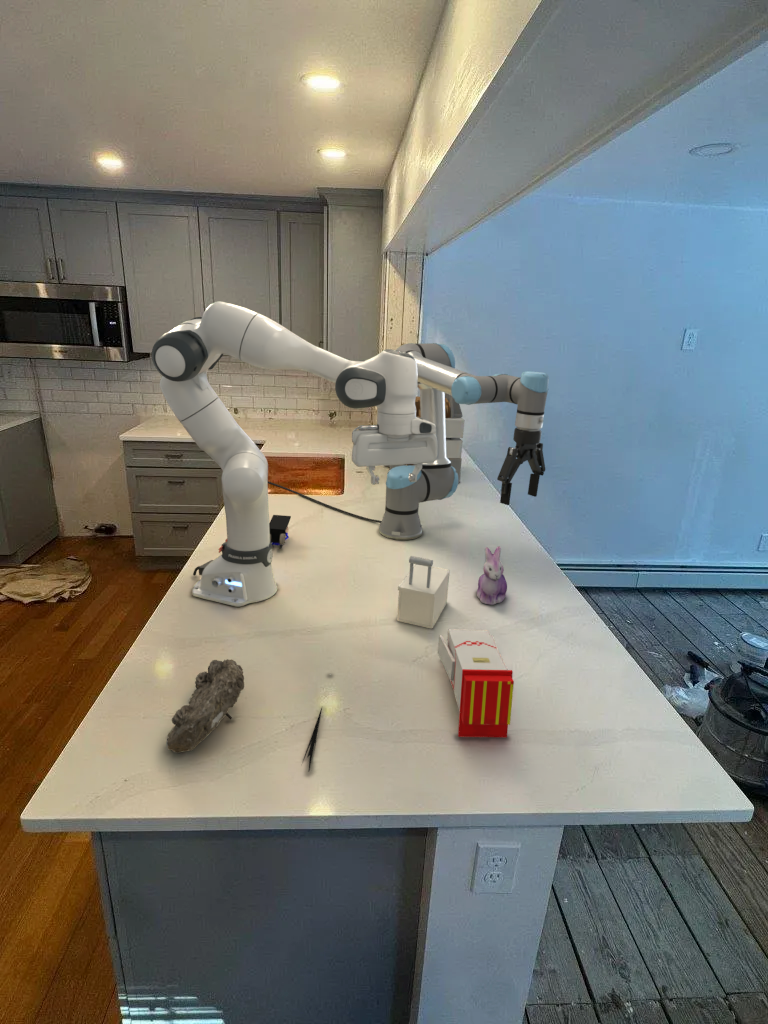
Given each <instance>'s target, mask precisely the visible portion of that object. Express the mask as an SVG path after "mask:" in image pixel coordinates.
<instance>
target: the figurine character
mask: <svg viewBox="0 0 768 1024" xmlns="http://www.w3.org/2000/svg"><path fill="white" fill-rule="evenodd" d="M291 517H292V516H291V515H284V514H283V515H282V514H273V515H272V517H271V519H270V520H269V529H270V541H271V544H272V549H273V548H274V546H279V547H278V550H281V549H283V548H282V547H283V546H284V545H285V544H286V541H287V540H288V539H289V538H290V536H289V523H290V521H291Z"/></svg>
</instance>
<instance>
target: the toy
mask: <svg viewBox="0 0 768 1024" xmlns="http://www.w3.org/2000/svg"><path fill="white" fill-rule="evenodd" d="M446 640H447V643H446V641H445V639H444V636H443V635H442V634H439V637H438V646H437V656H438V657H439V659H440V661H441V663H442V666H443V668H444V670H445V672H446V674H447V677H448V679H449V681H450V684H451V687H452V690H453V693H454V697H455V701H456V705H457V708H458V711H459V714H458V715H459V716H458V730H457V731H458V732H457V737H458V738H508V731H509V726H510V725H511V717H512V707H513V697H514V696H513V695H514V684H515V680H514V679H513V673H514V671H513V670H512V669H508V667H507V665H506V662H505V661H504V659H503V658H502V655H501V653H500V651H499V649H498V647H497V643H496V639H495V637H494V635H493V634H491V632H490V631H489V629H467V628H466V629H465V628H463V629H461V628H460V629H459V628H448V630H447V639H446Z"/></svg>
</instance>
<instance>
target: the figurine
mask: <svg viewBox="0 0 768 1024" xmlns="http://www.w3.org/2000/svg"><path fill="white" fill-rule="evenodd" d="M501 547H502V546H500V545H498V546H497V547H496V548H495V550H494V552H493V553H492V551H491V549H490V548H489V547H487V546H486V547H485V548H484V553H485V555H484V556H485V562H484V564H483V566H482V567H483V568H482V570H483V573H482V574H481V575H480V576H479V577H478V579H477V580H478V581H477V591H476V596H477V598H478V599H479V600H480V602H481V603H482V604H485V605H496V604H500V603H502V602H503V601H504V600H505V598H506V595H507V591H508V582H507V580H506V577H505V575H504V574H503V573H504V571H505V570H504V566H503V563H502V561H501V552H502V548H501Z"/></svg>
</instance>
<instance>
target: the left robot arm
mask: <svg viewBox="0 0 768 1024" xmlns="http://www.w3.org/2000/svg"><path fill="white" fill-rule="evenodd" d="M224 355H226V356H229V357H232V358H234V359H236V360H239V361H241V362H242V363H245V364H247V365H250V366H253V367H255V368H259V369H264V370H267V371H285V370H286V371H287V370H297V371H303V372H307V373H310V374H311V375H314V376H316V377H319V378H322V379H324V380H326V381H329V382H331V383H333V384H334V387H335V388H334V389H335V390H334V391H335V395H336V397H337V398H338V400H339V401H340V403H341V404H343V406H344V407H347V408H350V409H354V410H362V409H366V408H372V407H376V408H377V409H376V424H367V425H365V424H360V425H358V426H357V427H355V428H354V429H353V430H352V432H351V442H352V449H351V462H352V463H353V464H354V465H355V466H356V467H358V468H365V467H366V470H367V472H368V474H369V476H370V484H371V485H379V484H380V476H378V474H376V475H375V473H374V471H375V470H376V467H382V466H383V467H386V466H385V465H403V464H414V466H415V468H414V470H413V472H412V473H409V481H410V482H416V481H417V475H418V474H419V472H420V470H421V469H422V463H434V462H435V461H436V459H437V456H438V444H437V438H436V436H435V435H434V434H433V433H434V432H435V430H436V426H435V424H433V423H432V422H430V421H427V420H425V419H422V418H420V417H416V406H415V398H416V397H417V394H418V389H419V388H418V370H417V363H416V360H415V359H414V357H413V356H411V355H410V354H408V353H406V352H402V351H398V350H396V349H391V348H385V349H383V350H382V351H381V352H379V353H378V354H376V355H374V356H372V357H370V358H367V359H350V358H346V357H343V356H341V355H339V354H336V353H334V352H331V351H329V350H327V349H325V348H322V347H320V346H317V345H315V344H313V343H311V342H308V341H307V340H306V339H304V338H302V337H300V336H299V335H298V334H296V333H294V332H293V331H291V330H290V329H288V328H287V327H285V326H283V325H282V324H281V323H279V322H277V321H275V320H273V319H271V318H269V317H268V316H265V315H264V314H262V313H259V312H257V311H254V310H251V309H249V308H247V307H244V306H241V305H238V304H234V303H230V302H226V301H215V302H212V303H211V304H209V305H208V306H207V307H206V308H205V310H204V312H203V313H202V316H197V317H193V318H191V319H190V320H186V321H183V322H180V323H179V324H177V325H176V326H174V327H172V329H171V330H169V331H168V332H165V333H164V334H162V335H160V337H159V338H158V339H157V340H156V341H155V343H154V344H153V346H152V349H151V360H152V364H153V365H154V368H155V369H156V371H157V372H158V373H159V374H160V375H161V378H160V380H159V388H160V391H161V393H162V395H163V397H164V399H165V401H166V403H167V404H168V406H169V408H170V409H171V412H173V414H174V416H175V417H176V419H177V420H178V421H179V423H180V424H181V426H183V428H184V429H185V430H186V432H187V433H188V435H189V436H190V438H191V439H192V440H193V441H194V443H195V444H196V446H197V447H198V449H200V450H201V451H203V452H204V453H206V454H207V456H209V457H210V458H211V459H212V460H213V461H214V462H215V463H216V464H217V465H218V467H219V468H220V469H221V471H222V473H221V479H220V480H221V488H222V489H221V490H222V499H223V506H224V507H223V508H224V513H225V523H226V539H225V542H223V543H222V544H221V546H220V547H219V548H218V553H219V554H220V553H221V554H220V555H219V556H217V557H216V558H214V559H210V560H209V561H207V562H204V563H203V564H201V565H198V566H197V567H195V568H194V570H193V574H192V575H193V577H194V576H195V577H196V576H197V572H198V575H199V576H200V579H199V580H198V581H197V582H196V583H195V584H194V585H193V587H192V596H193V597H195V598H201V599H204V600H208V601H213V602H217V603H220V604H224V605H227V606H231V607H236V608H239V607H243V606H247V605H248V604H253V603H258V602H262V601H265V600H267V599H270V598H272V597H273V596H274V595H275V594H276V593H277V591H278V586H277V583H276V580H275V577H274V572H273V566H272V562H273V548H272V543H271V541H270V529H269V523H270V508H269V507H270V506H269V484H268V481H269V463H268V459H267V458H266V456H265V454H264V453H263V452H262V451H261V450H260V448H259V447H258V446H257V444H256V443H255V442H254V441H253V440H252V438H251V437H250V436H249V435H248V434H247V432H245V430H244V429H242V427H241V426H240V425H239V423H238V422H237V421H236V419H235V418H234V416H233V415H232V413H231V411H229V410H228V408H227V406H226V405H225V404H224V403H223V401H222V399H221V397H219V395H218V394H217V393H216V392H215V390H214V388H213V387H212V386H211V384H210V382H209V380H208V371H210V370H213V369H214V368H215V367H216V365H217V363H219V361H220V360H221V359H222V358H223V356H224Z"/></svg>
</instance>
